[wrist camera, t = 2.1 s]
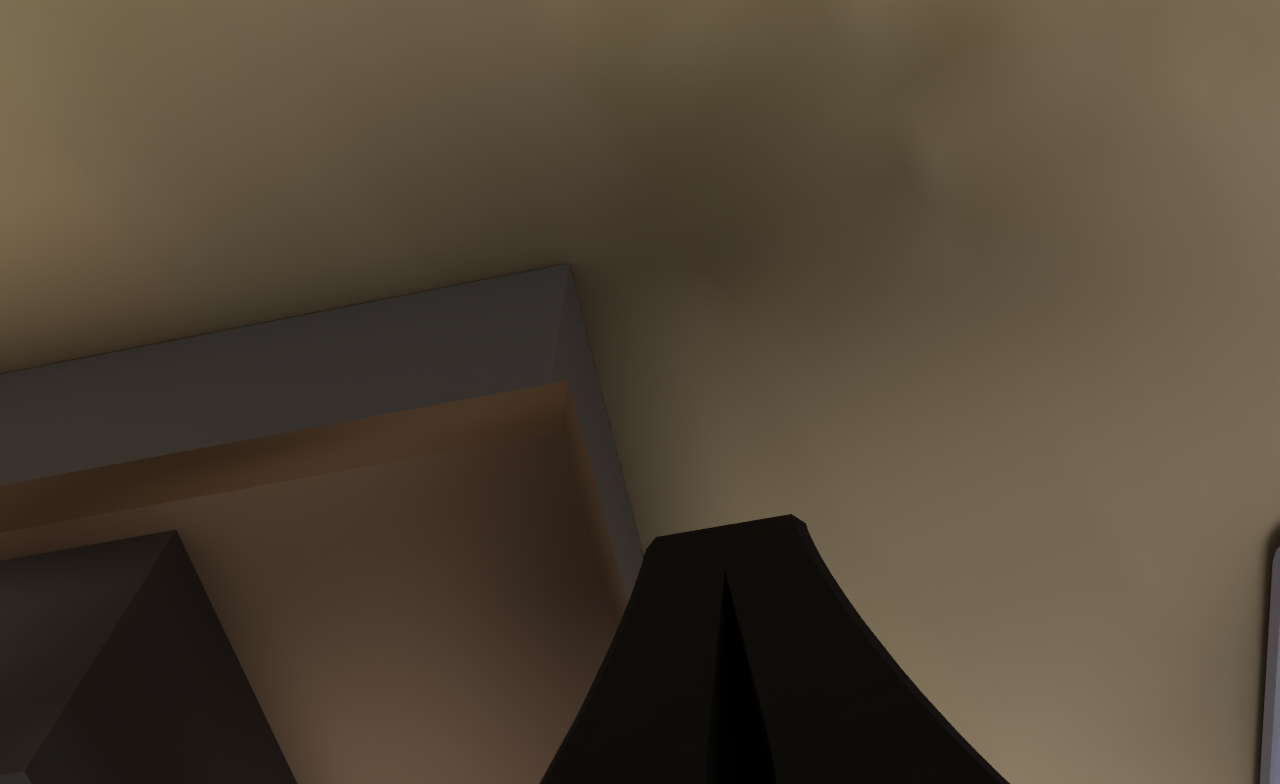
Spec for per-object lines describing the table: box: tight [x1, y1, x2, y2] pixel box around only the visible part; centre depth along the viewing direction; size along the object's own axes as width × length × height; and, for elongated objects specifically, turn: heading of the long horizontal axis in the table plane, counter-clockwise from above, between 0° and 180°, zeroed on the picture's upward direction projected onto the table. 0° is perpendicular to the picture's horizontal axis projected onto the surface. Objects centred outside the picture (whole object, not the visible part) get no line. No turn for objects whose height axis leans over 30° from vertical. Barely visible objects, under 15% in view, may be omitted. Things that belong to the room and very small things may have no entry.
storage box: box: [0, 263, 643, 603], centre depth 17 cm, size 12×12×4 cm
